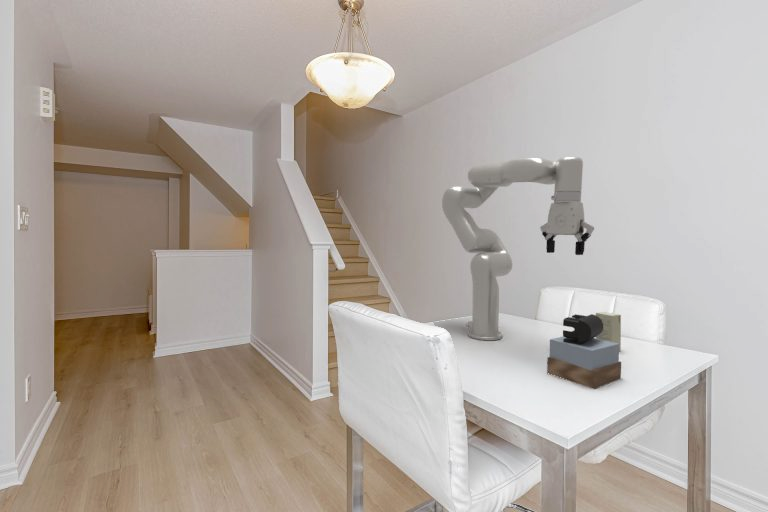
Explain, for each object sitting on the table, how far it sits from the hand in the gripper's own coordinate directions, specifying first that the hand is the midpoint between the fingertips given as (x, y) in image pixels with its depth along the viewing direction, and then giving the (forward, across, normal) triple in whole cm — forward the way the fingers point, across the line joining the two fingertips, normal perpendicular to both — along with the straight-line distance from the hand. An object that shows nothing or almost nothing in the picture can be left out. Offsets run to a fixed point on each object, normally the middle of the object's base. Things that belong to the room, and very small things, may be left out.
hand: (564, 253), depth 120 cm
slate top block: (+28, +15, -12) cm, 33 cm away
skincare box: (+32, +5, +18) cm, 38 cm away
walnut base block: (+32, +15, -11) cm, 37 cm away
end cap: (+23, +14, -11) cm, 29 cm away
